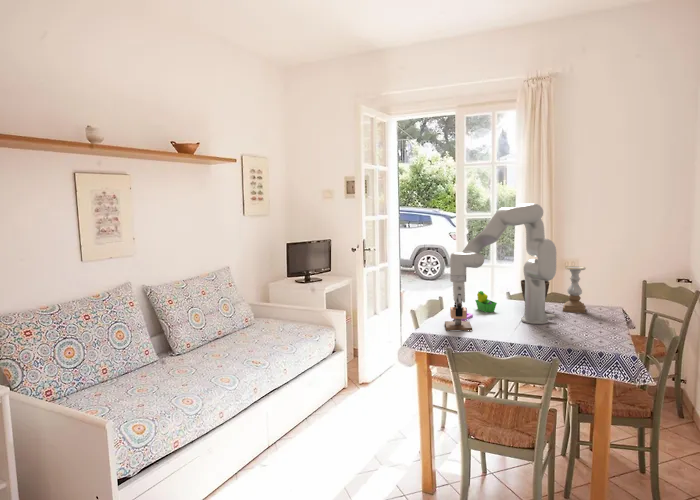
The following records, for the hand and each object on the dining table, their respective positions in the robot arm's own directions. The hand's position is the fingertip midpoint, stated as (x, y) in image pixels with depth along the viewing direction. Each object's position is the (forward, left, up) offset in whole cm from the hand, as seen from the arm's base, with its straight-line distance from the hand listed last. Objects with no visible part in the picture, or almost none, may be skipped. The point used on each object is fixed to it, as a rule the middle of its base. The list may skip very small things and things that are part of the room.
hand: (458, 314), depth 238 cm
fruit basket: (-18, -36, -7) cm, 41 cm away
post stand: (0, 0, -7) cm, 7 cm away
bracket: (-5, -19, -7) cm, 21 cm away
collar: (0, 0, -1) cm, 1 cm away
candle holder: (-66, -38, -7) cm, 76 cm away
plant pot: (-45, -38, -7) cm, 59 cm away
